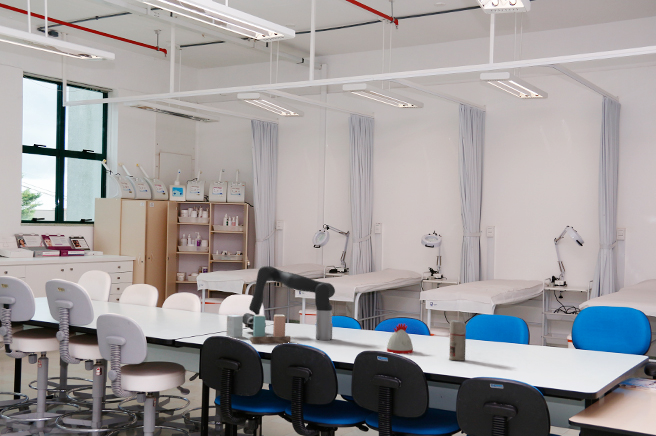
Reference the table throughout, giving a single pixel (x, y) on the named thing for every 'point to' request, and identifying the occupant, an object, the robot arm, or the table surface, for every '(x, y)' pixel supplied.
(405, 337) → the grey and red dome
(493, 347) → the table surface
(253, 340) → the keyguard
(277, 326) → the salmon pink rectangular block
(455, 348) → the spray can
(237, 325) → the small box
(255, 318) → the teal rectangular block
